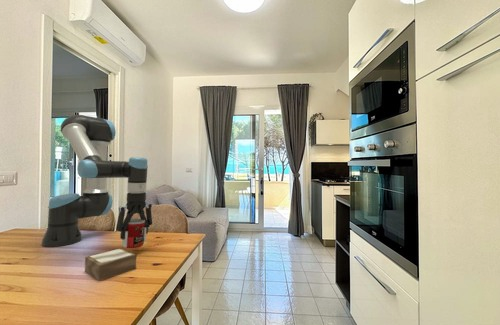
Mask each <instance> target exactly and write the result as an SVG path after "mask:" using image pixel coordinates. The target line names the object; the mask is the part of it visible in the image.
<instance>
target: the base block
mask: <svg viewBox="0 0 500 325" xmlns="http://www.w3.org/2000/svg"><path fill="white" fill-rule="evenodd" d="M84 259H85V262H84V272H85V273H86V274H88V275H90V276H91V277H93V278H94V279H95V280H97V281H98V282H101V281H103V280H106V279H107V280H108V279H110V278H112V277H116V276H119V275H122V274H124V273H127V272H129V271H133V270H136V269H137V254H136V253H133V252H130V251H128V250H126V249H124V248H116V249H112V250H108V251H104V252H100V253H96V254H93V255H88V256H85V258H84Z"/></svg>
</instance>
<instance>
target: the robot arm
mask: <svg viewBox="0 0 500 325" xmlns="http://www.w3.org/2000/svg"><path fill="white" fill-rule="evenodd" d="M116 131H117V130H116V127H115V124H114V122H112V121H111V120H110V119H109V120H108V119H105V118H99V117H93V116H90V115H85V114H74V115H70V116H68V117H66V118H65V119H63V121H61V124H60V133H61V135H62V137H64V138H65V139H66V140H68V142H69V144H70V146H71V148H72V149H73V151H74V154H75V155H76V157H77V159H78V164H77V174H78V176H79V177H80V178H82V179H86V189H85V190H83V191H82V195H80V194H79V193H67V194H60V195H56V196H55V195H54V196H53V197H51V198H50V199H49V201H48V207H47V209H48V213H47V214H48V216H47V229H46V231H45V233H44V235H43V237H42V240H41V246H43V247H44V248H45V247H46V248H48V247H49V248H52V247H62V246H68V245H72V244H76V243H78V242H81V241H82V237H83V235H82V233H81V230H80V227H79V219H87V218H93V217H100V216H105V215H107V214H109V212H110V211H111V210H112V207H113V202H114V201H113V197H112V195H111V194H109V190H108V189H107V188H106V185H107V184H106V183H107V182H106V181H107V180H106V178H107V179H111V178H112V179H113V178H115V179H117V178H118V179H119V178H121V179H122V178H124V179H125V178H126V179H127V186H126V187H127V190H126V191H127V194H126V204H125V205H124V206H119V207H118V211H119V212H118V217H117V222H116V225H115V226H116V227H115V230H116V231H118V232H120V239H121V241H122V242H121V246H122V247H124V248H126V247H127V236H128V231H126V229H127V227H128V224H129V222H130V220H131V219H133V216H134V215H135V214H138V215H139V219H142V220H145V231H144V243H146V242H147V234H148V232H149V228H150V226H152V225H153V218H152V217H153V216H152V215H153V214H152V206H153V205H152V203H146V200H147V199H146V198H147V193H146V191H147V181H148V178H147V177H148V167H149V166H148V159H147V158H146V157H133V156H132V157H129V159H128V161H127V160H126V161H120V160H119V161H118V160H108V159H107V158H108V146H109V145H111V142H112V141H114V140H115V137H116ZM144 209H145V211H144ZM126 211H127V212H126ZM125 214H126V216H125Z"/></svg>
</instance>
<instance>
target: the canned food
mask: <svg viewBox="0 0 500 325" xmlns="http://www.w3.org/2000/svg"><path fill="white" fill-rule="evenodd" d="M126 231H128V236H127V247H125V249H137V248H141V247H143V246H144V244H145V242H144V231H145V220H142V219H141V218H131V220H130V222H129V224H128V227H127V229H126Z"/></svg>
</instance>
